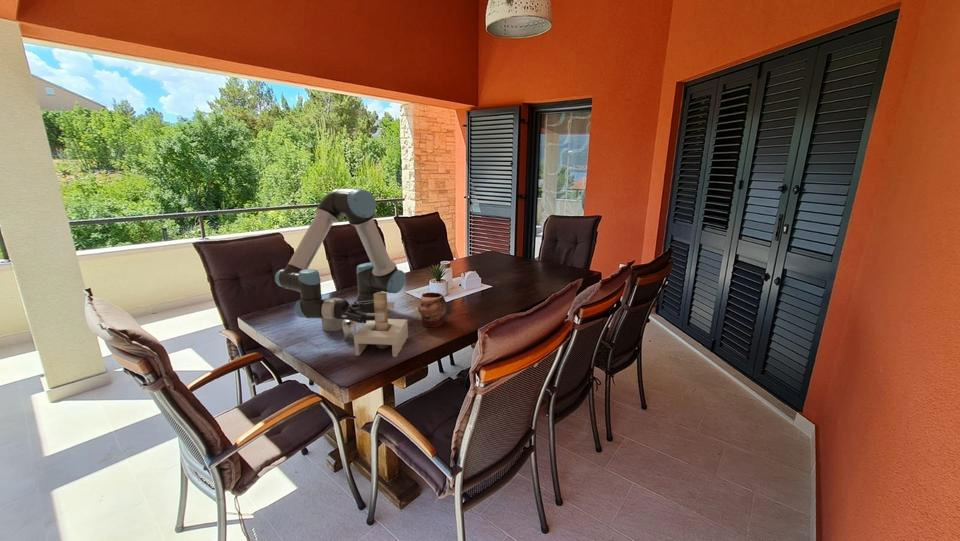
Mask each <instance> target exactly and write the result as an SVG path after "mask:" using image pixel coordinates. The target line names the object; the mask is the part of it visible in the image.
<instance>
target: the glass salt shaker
mask: <svg viewBox="0 0 960 541" xmlns="http://www.w3.org/2000/svg"><path fill="white" fill-rule="evenodd" d="M342 324H343V328H342V333H343V340H344V341H346V342H349V341H354V335H355V334H356V333H357V331H356V327H357V326H356V322H354V321H351V320H347V319H344V320H343V321H342Z"/></svg>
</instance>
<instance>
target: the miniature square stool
mask: <svg viewBox="0 0 960 541" xmlns="http://www.w3.org/2000/svg"><path fill="white" fill-rule="evenodd" d="M388 330H389V331H376V329H375V321H367V320H366V323H363V325H362V326H361V328H360V329H359V330H358V331H356V334H355V335H354V340H353V341H354V344H353V345H354V356H360V355H361V354H362V352H363V351H364V350H365V349H366V348H367V347H368V345H376V344H384V345H389V346H391V348H392V349H391V352H392V358H397V357H398V355H399V354H398V353H400V352H401V350H402V348H403V347H402V346H404V345H405V343H406V341H407V340H406V339H408V337H409V332H408V331H409V328H408V319H406V318H405V319H403V318H402V319H398V318H388Z"/></svg>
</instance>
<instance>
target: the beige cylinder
mask: <svg viewBox="0 0 960 541" xmlns="http://www.w3.org/2000/svg"><path fill="white" fill-rule="evenodd" d="M322 299H323V298H322ZM323 300H343V298H341V297H328V298H324V299H323ZM320 320H321V326H322V327H321V329H322V330H323V331H325V332H335V331H339V330H343V324H342V321H343V320H344V319H336V318H335V319H331V320H330V319H324V318H320Z"/></svg>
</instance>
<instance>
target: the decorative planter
mask: <svg viewBox="0 0 960 541" xmlns="http://www.w3.org/2000/svg"><path fill="white" fill-rule="evenodd" d="M447 306H448V305H447V301H446V299H445V297H444V294H442V293H441V292H424V293H422V294H421V296H420V302H419V303H418V306H417V310H418V312H419V313H418V314H420V315H421V324H422V326H425V327H428V328H437V327H438V328H439V327H440V326H442V325H443V323H444V321H445V314H446V311H447Z"/></svg>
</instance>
